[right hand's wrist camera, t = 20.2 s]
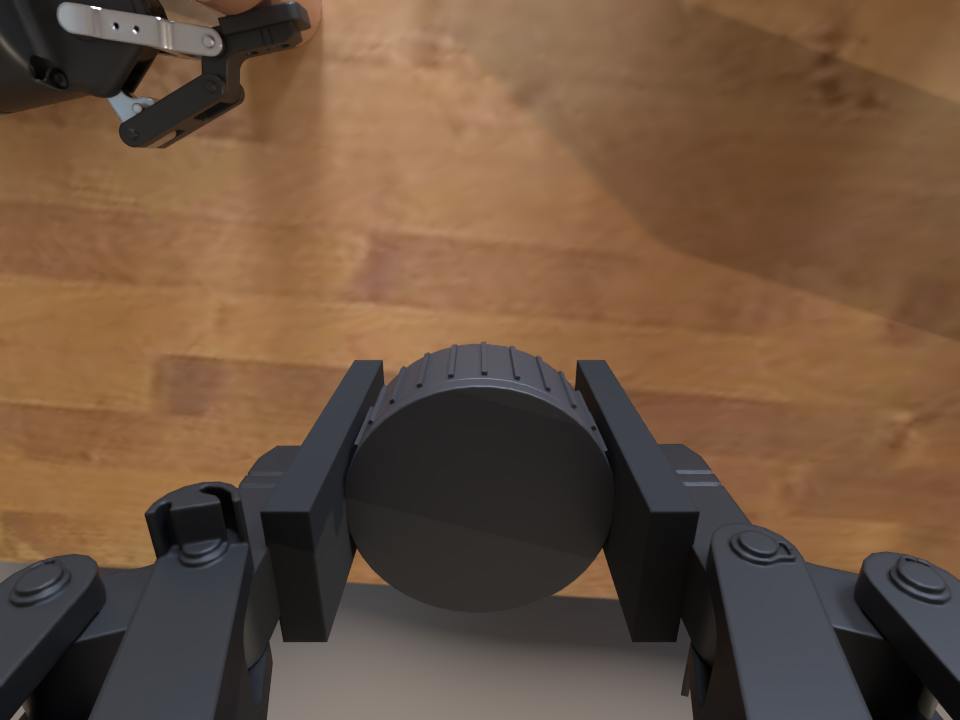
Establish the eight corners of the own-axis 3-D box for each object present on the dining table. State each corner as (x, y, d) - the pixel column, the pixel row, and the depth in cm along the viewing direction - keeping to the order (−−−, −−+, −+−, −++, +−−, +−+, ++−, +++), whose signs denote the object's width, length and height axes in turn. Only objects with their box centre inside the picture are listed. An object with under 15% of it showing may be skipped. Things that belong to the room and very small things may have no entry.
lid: (350, 522, 13) (325, 594, 11) (380, 317, 11) (357, 355, 9) (560, 558, 14) (576, 633, 11) (624, 365, 12) (657, 412, 9)
